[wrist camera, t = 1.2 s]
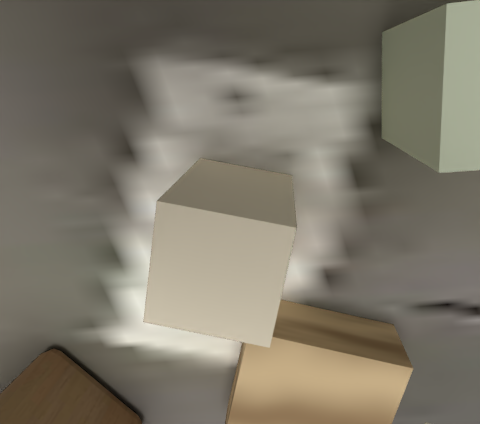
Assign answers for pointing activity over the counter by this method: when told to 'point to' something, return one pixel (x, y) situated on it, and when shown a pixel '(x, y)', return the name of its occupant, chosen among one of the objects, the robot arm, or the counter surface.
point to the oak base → (320, 371)
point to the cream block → (221, 252)
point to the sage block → (434, 87)
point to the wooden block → (60, 396)
